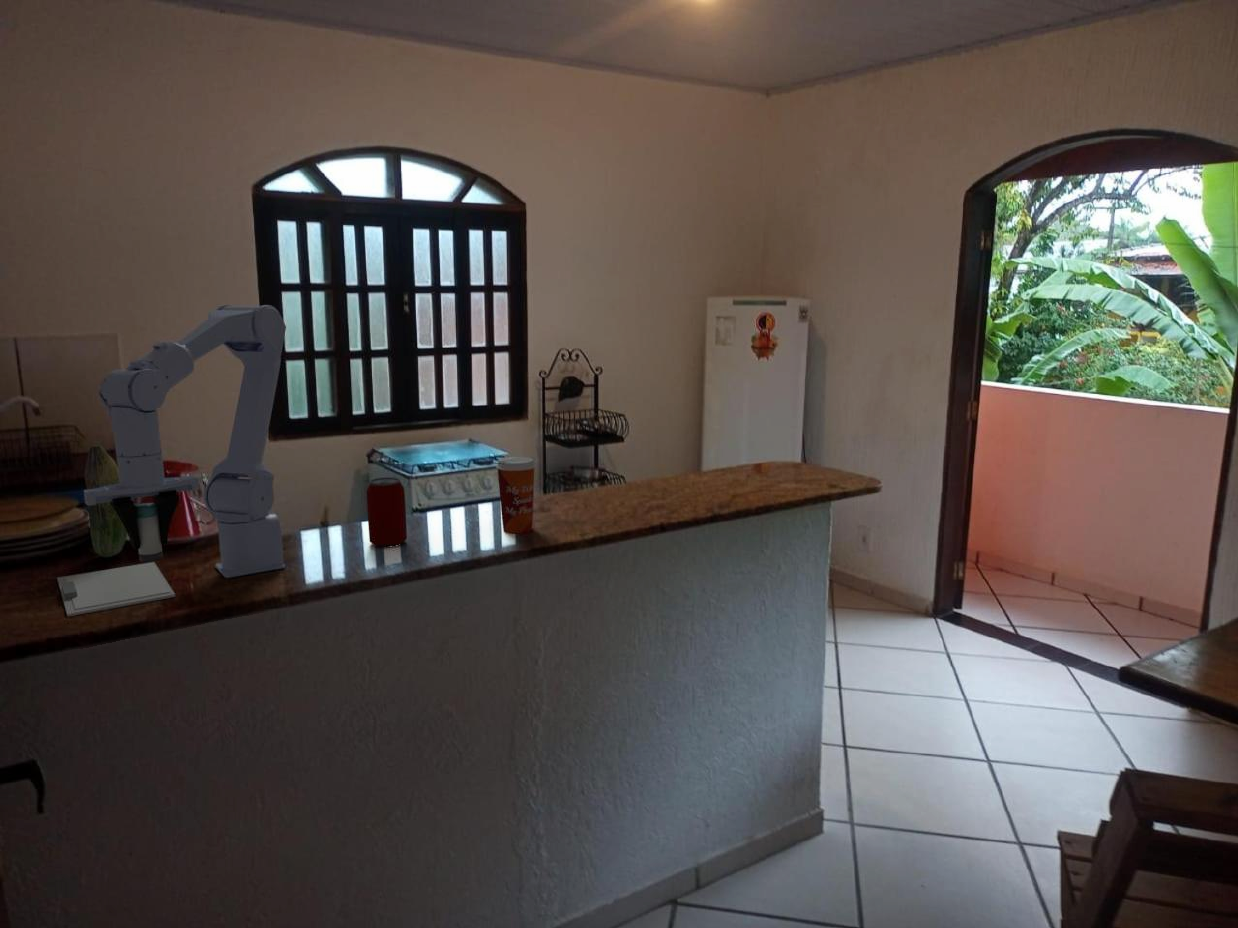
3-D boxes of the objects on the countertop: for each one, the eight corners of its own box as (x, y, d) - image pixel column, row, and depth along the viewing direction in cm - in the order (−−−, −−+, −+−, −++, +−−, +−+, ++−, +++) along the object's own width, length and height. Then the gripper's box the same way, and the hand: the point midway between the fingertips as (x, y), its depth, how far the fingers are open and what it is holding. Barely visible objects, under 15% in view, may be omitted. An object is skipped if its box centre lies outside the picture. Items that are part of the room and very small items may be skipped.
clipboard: (154, 564, 147) (153, 556, 147) (175, 596, 131) (174, 587, 131) (57, 580, 139) (56, 571, 138) (67, 616, 123) (66, 607, 123)
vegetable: (128, 549, 155) (115, 440, 152) (138, 556, 151) (125, 445, 147) (90, 556, 151) (76, 445, 147) (99, 564, 147) (85, 449, 143)
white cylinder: (161, 554, 128) (155, 501, 126) (164, 558, 125) (158, 506, 124) (138, 557, 126) (132, 504, 125) (141, 562, 124) (134, 508, 122)
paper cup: (509, 537, 163) (507, 465, 160) (490, 528, 169) (488, 459, 166) (545, 530, 167) (543, 460, 164) (525, 522, 173) (523, 454, 171)
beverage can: (410, 538, 162) (407, 476, 160) (403, 548, 156) (399, 484, 153) (374, 538, 162) (371, 476, 160) (365, 549, 155) (361, 484, 153)
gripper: (185, 444, 130) (194, 530, 133) (75, 456, 121) (87, 548, 124) (199, 450, 125) (208, 539, 128) (85, 463, 116) (97, 559, 118)
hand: (149, 544), depth 125 cm, fingers closed on white cylinder, 3 cm apart
